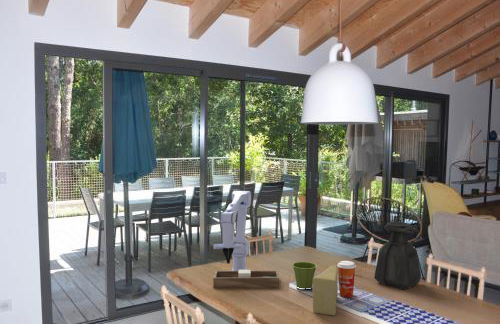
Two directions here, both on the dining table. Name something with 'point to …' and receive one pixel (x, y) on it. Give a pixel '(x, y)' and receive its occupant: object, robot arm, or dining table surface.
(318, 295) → the cheese
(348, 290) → the coffee cup
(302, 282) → the plant pot
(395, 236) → the black faceted vase
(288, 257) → the dining table surface
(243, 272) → the cream block
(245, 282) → the trap box
